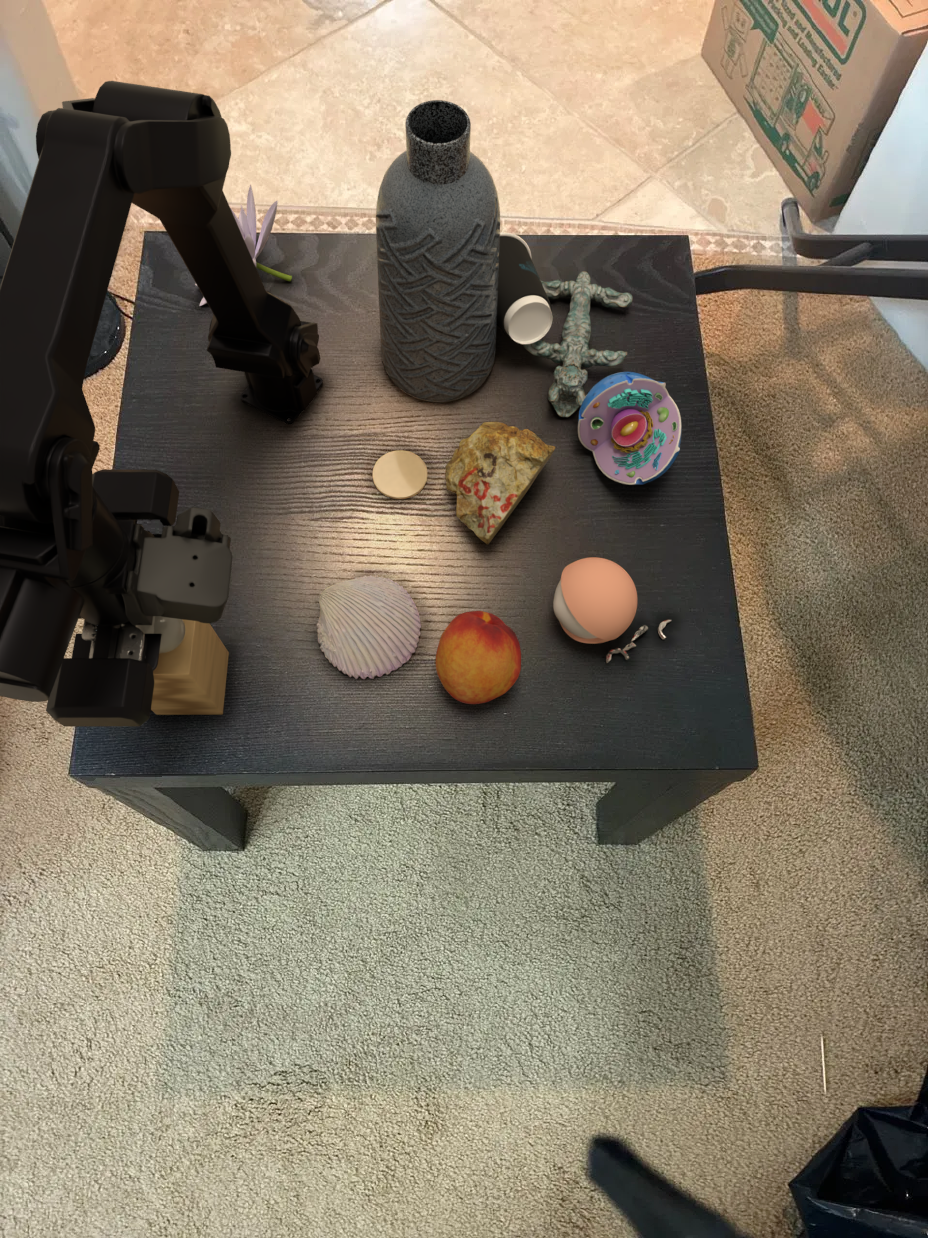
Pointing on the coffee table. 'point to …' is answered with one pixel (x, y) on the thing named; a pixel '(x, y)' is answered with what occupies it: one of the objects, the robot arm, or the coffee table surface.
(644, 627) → the toy
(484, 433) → the rock
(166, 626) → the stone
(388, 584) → the seashell
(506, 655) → the fruit
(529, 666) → the coffee table surface
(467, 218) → the vase
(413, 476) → the coaster
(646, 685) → the coffee table surface
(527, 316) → the dixie cup
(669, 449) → the cell model
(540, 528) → the coffee table surface
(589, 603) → the toy ball
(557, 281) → the sculpture
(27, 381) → the robot arm
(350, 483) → the coffee table surface
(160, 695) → the stand
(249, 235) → the water lily
